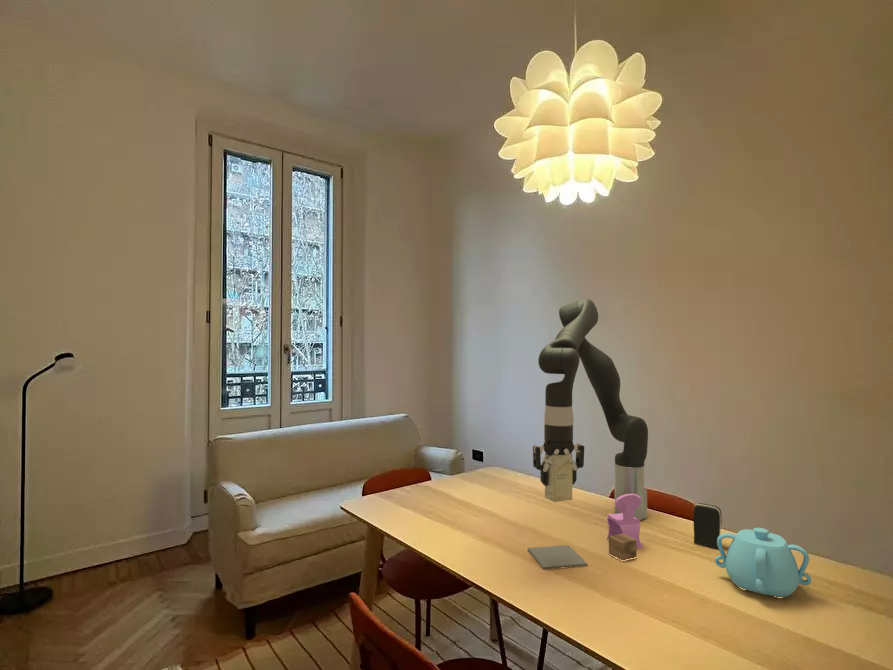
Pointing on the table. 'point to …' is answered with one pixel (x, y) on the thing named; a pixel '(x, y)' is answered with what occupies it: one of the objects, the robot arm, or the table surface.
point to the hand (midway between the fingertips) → (558, 484)
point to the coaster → (556, 556)
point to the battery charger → (707, 524)
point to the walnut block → (622, 546)
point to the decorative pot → (762, 562)
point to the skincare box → (559, 479)
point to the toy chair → (625, 518)
